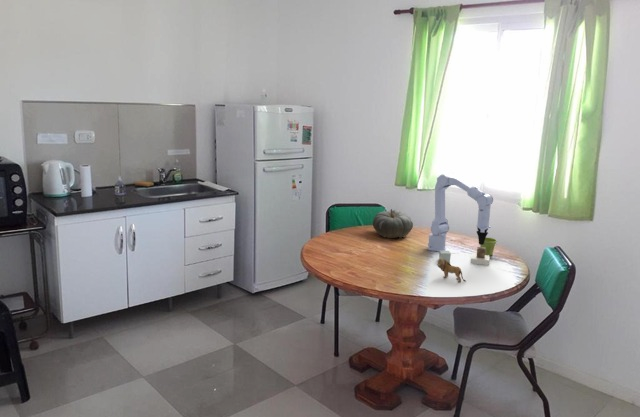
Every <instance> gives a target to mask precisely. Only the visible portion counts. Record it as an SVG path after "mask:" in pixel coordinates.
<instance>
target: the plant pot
mask: <svg viewBox="0 0 640 417" xmlns="http://www.w3.org/2000/svg"><path fill="white" fill-rule="evenodd" d="M497 241H498V240H497V239H496V238H493V237H487V236H486V238H485V241H484V244H483V245H480V244H479V247H485V255H489V257H491V256H493V253H494V249H495V245H496V244H497Z"/></svg>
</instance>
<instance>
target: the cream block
mask: <svg viewBox="0 0 640 417" xmlns="http://www.w3.org/2000/svg"><path fill="white" fill-rule="evenodd" d="M470 258H471V259H470V264H476V265H487V266H489V265H490V256H489V255H485V259H483V258H477V253H471V256H470Z"/></svg>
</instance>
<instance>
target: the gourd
mask: <svg viewBox="0 0 640 417" xmlns="http://www.w3.org/2000/svg"><path fill="white" fill-rule="evenodd" d="M372 228H373V229H374V230H375V231H376V233H377V234H378V235H379V236H381V237H383V238H386V237H387V238H386V239H396V238H398V237H399V238H400V239H402V237H403V238H405V237H407V236H408V234H409V233H410V232H411V231H412V230H413V229H414V223H413V221H412V218H411V217H410V216H409V215H408V214H407V213H405V212H403V211H401V210H397V209H393V208H391V209H390V210H385V211H384V210H383V211H380V212H378V213H376V214H375V216H374V218H373V220H372Z"/></svg>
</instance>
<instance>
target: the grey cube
mask: <svg viewBox="0 0 640 417" xmlns="http://www.w3.org/2000/svg"><path fill="white" fill-rule="evenodd" d="M451 256H452V254H451V252H450V250H445V251H438V259H444V260H446V261H447V262H449V263H450V264H451Z"/></svg>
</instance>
